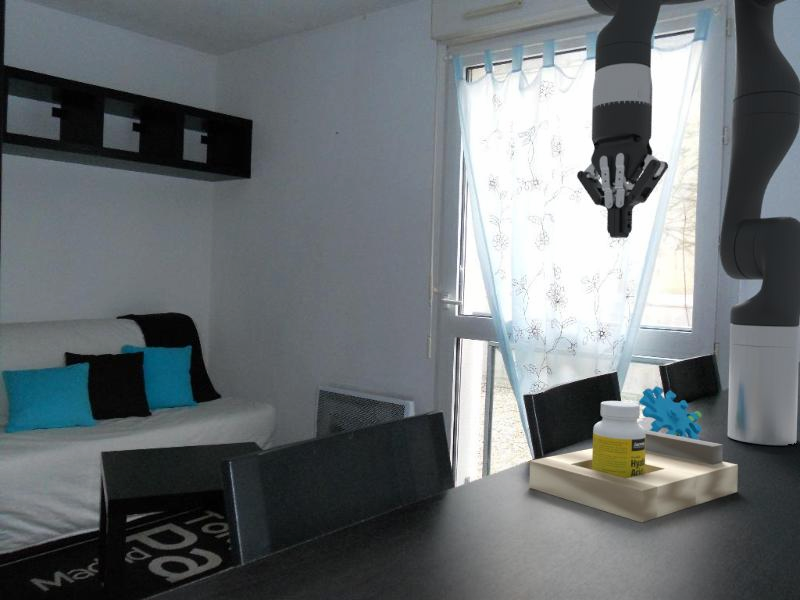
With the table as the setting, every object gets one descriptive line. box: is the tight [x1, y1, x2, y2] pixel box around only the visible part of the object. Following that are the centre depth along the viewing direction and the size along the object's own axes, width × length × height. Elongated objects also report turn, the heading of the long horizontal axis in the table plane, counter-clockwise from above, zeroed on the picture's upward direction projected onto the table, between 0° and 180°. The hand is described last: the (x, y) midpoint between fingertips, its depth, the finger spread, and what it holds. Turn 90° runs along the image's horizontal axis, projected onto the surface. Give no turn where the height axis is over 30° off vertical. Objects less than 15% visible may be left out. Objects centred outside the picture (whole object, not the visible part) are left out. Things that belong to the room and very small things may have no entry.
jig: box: [528, 429, 739, 523], centre depth 77 cm, size 18×14×5 cm
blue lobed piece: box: [638, 386, 703, 440], centre depth 106 cm, size 11×6×10 cm
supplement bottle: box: [592, 400, 646, 478], centre depth 75 cm, size 5×5×10 cm
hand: (619, 237), depth 93 cm, fingers closed
